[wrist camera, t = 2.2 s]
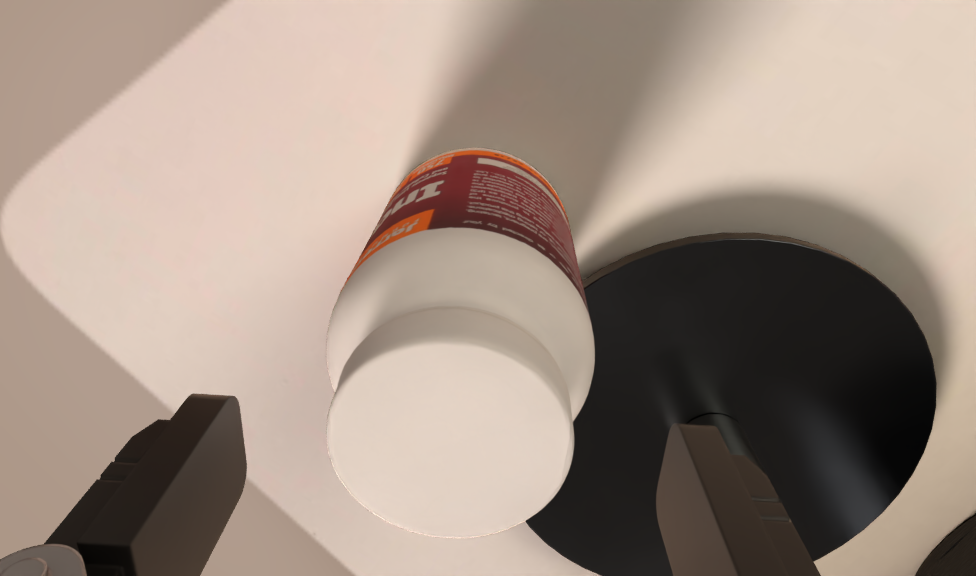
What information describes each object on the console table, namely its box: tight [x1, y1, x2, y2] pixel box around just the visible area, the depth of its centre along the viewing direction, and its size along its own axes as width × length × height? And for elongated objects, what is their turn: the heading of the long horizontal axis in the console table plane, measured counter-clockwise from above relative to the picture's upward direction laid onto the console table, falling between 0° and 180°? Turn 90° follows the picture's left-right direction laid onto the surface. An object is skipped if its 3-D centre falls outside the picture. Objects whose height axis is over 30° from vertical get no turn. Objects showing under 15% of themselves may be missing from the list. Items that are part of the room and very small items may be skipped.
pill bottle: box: [326, 148, 595, 538], centre depth 17 cm, size 6×6×11 cm
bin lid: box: [526, 233, 936, 576], centre depth 22 cm, size 16×16×6 cm
